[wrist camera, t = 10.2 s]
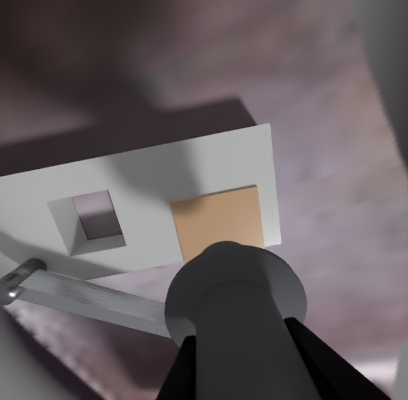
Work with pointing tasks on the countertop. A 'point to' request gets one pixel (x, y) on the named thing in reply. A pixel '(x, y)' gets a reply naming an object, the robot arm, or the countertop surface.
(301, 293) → the plug
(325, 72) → the countertop surface
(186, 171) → the white flat board
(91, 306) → the lever with ball end
